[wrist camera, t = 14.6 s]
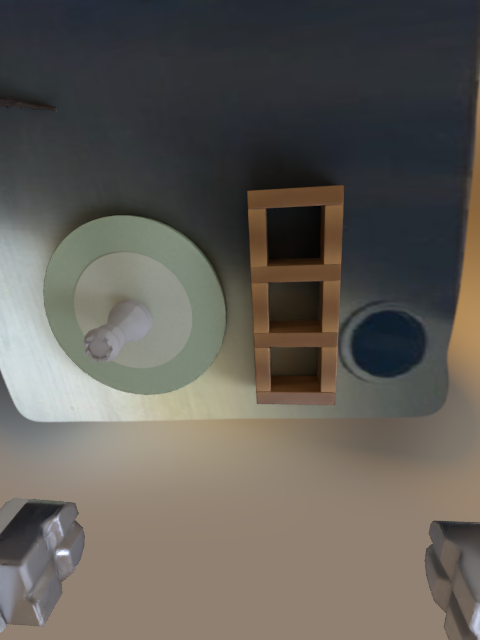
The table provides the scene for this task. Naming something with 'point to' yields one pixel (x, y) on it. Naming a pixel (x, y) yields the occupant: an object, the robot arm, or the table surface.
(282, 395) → the rack
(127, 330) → the rook chess piece
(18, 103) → the dinosaur model
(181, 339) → the plate
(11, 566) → the robot arm
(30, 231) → the table surface
